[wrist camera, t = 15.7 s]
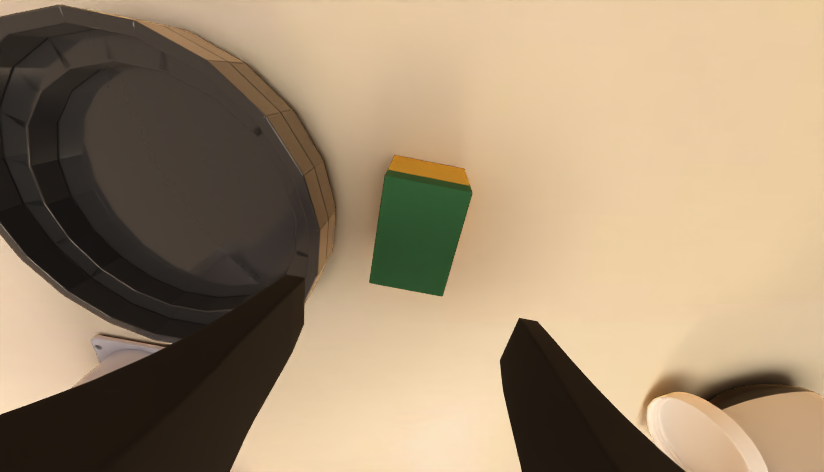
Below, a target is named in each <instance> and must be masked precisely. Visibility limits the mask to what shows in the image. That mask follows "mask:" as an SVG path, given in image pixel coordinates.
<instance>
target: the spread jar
mask: <svg viewBox="0 0 824 472" xmlns="http://www.w3.org/2000/svg"><path fill="white" fill-rule="evenodd" d="M646 420H647V426H648V430H649V433H650V435H651V438H652V440H653V442H654V444H655V445H656V446H657V447H658V448H659V449H660V450H661V451H662V452H664V453H665V454H666V455H667V456H668V457H669V458H670V459H672V460H673V461H674V462H675V463H676V464H677V465H679V466H680V467H681V468H682V469H683V470H685V471H686V472H824V398H823V397H822V396H820V395H818V394H817V393H815V392H813V391H810V390H808V389H805V388H802V387H797V386H792V385H781V384H752V385H746V386H741V387H737V388H734V389H731V390H728V391H726V392H723V393H721V394H719V395H718V396H716V397H714V398H713V399H711V400H710V401H706V400H704V399H702V398H700V397H698V396H695V395H692V394H689V393H685V392H672V393H669V394H666V395H663V396H660V397H657V398H655V399H653V400H652V401H651V402H650V403H649V405H648V407H647V412H646Z"/></svg>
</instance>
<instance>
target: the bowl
mask: <svg viewBox="0 0 824 472" xmlns="http://www.w3.org/2000/svg"><path fill="white" fill-rule="evenodd" d="M335 209H336V208H335V204H334V200H333V196H332V192H331V188H330V185H329V181H328V177H327V173H326V169H325V165H324V162H323V159H322V158H321V156H320V154H319V153H318V151H317V149H316V148H315V146H314V144H313V143H312V141H311V139H310V137H309V136H308V134H307V132H306V131H305V129H304V127H303V126H302V124H301V122H300V121H299V119H298V117H297V116H296V114H295V112H294V111H293V110H292V109H291V108H290V107H289V106H288V105H287V104H286V103H285V102H284V101H283V100H282V99H281V98H280V97H279V96H278V95H277V94H276V93H275V92H274V91H273V90H272V89H271V88H270V87H269V86H268V85H267V84H266V83H265V82H264V81H263V80H262V79H261V78H260V77H259V76H258V75H257V74H256V73H255V72H254V71H253V70H252V69H251V68H250V67H248V66H247V65H246V64H245V63H244V62H243V61H241V60H239V59H237V58H235V57H234V56H232V55H230V54H228V53H227V52H225V51H223V50H221V49H219V48H218V47H216V46H214V45H212V44H211V43H209V42H207V41H205V40H203V39H202V38H200V37H198V36H196V35H195V34H193V33H191V32H189V31H187V30H185V29H181V28H176V27H171V26H166V25H161V24H157V23H152V22H147V21H142V20H137V19H133V18H128V17H123V16H118V15H113V14H107V13H102V12H97V11H92V10H87V9H82V8H76V7H71V6H66V5H55V6H50V7H45V8H40V9H35V10H30V11H25V12H20V13H15V14H10V15H5V16H0V235H1V236H2V237H3V238H4V240H5V241H6V242H7V243H8V245H9V246H10V247H11V248H12V249H13V251H14V252H15V253H16V254H17V256H18V257H19V258H21V260H22V261H24V262H25V263H26V264H27V265H28V266H29V267H31V268H32V269H33V270H34V271H35V272H36V273H38V274H39V275H40V276H41V277H42V278H44V279H45V280H46V281H47V282H48V283H49V284H51V285H52V286H53V287H54V288H55V289H56V290H58V291H59V292H60V293H61V294H63V295H64V296H65V297H67V298H69V299H70V300H72V301H74V302H75V303H77V304H79V305H80V306H82V307H84V308H85V309H87V310H89V311H90V312H92V313H94V314H96V315H97V316H99V317H101V318H102V319H104V320H106V321H107V322H109V323H111V324H114V325H117V326H119V327H122V328H124V329H127V330H130V331H132V332H135V333H137V334H140V335H143V336H145V337H148V338H150V339H153V340H157V341H163V342H168V343H175V342H177V341H179V340H181V339H183V338H185V337H187V336H189V335H190V334H192V333H194V332H196V331H198V330H199V329H201V328H203V327H205V326H206V325H208V324H210V323H211V322H213V321H215V320H217V319H218V318H220V317H222V316H223V315H225V314H227V313H228V312H230V311H231V310H233V309H235V308H236V307H238V306H239V305H241V304H242V303H244V302H245V301H247V300H249V299H250V298H252V297H253V296H255V295H256V294H258V293H259V292H261V291H262V290H264V289H265V288H267V287H268V286H270V285H271V284H273V283H274V282H276V281H277V280H279V279H280V278H282V277H283V276H285V275H287V274H288V275H293V276H298V277H304V278H305V302H304V305H305V303H306V301H307V299H308V297H309V296H310V294H311V292H312V290H313V289H314V287H315V285H316V283H317V282H318V280H319V278H320V275H321V273H322V271H323V269H324V267H325V265H326V263H327V261H328V259H329V257H330V255H331V253H332V250H333V239H334V225H335V212H336V210H335Z"/></svg>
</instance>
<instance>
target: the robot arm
mask: <svg viewBox="0 0 824 472" xmlns="http://www.w3.org/2000/svg"><path fill="white" fill-rule="evenodd" d="M304 302H305V278H304V277H298V276H293V275H288V274H287V275H285V276H283V277H282V278H280V279H279V280H277V281H276V282H274V283H273V284H271V285H270V286H268V287H267V288H265V289H264V290H262V291H261V292H259V293H258V294H256V295H255V296H253V297H252V298H250V299H249V300H247V301H245V302H244V303H242V304H241V305H239V306H238V307H236V308H235V309H233V310H231V311H230V312H228V313H227V314H225V315H223V316H222V317H220V318H218V319H217V320H215V321H213V322H211V323H210V324H208V325H206V326H205V327H203V328H201V329H199V330H198V331H196V332H194V333H192V334H190V335H189V336H187V337H185V338H183V339H181V340H179V341H177V342H175V343H173V344H171V345H169V346H167V347H163V346H157V345H151V344H146V343H140V342H135V341H129V340H123V339H118V338H112V337H107V336H101V335H96V336H94V337H93V338H92V339H91V343H92V345H93V347H94V350H95V352H96V355H97V357H98V359H99V362H100V364H99V365H97V366H96V367H95V368H94V369H93V370H92V371H90V372H89V373H88V374H87V375H86V376H85V377H83V378H82V379H81V380H80V381H79V382H78V383H76V384H75V385H74V386H73V387H72V388H71V389H69V390H66V391H64V392H61V393H59V394H56V395H53V396H50V397H48V398H45V399H42V400H40V401H37V402H34V403H32V404H29V405H26V406H23V407H21V408H18V409H15V410H12V411H9V412H6V413H4V414H1V415H0V472H230V470H231V468H232V466H233V463H234V461H235V459H236V457H237V455H238V452H239V450H240V448H241V446H242V444H243V441H244V439H245V437H246V435H247V433H248V431H249V429H250V427H251V425H252V423H253V421H254V419H255V418H256V416H257V414H258V412H259V411H260V409H261V407H262V405H263V404H264V402H265V400H266V398H267V396H268V395H269V393H270V391H271V389H272V388H273V386H274V384H275V382H276V381H277V379H278V377H279V375H280V373H281V372H282V370H283V368H284V366H285V364H286V363H287V361H288V359H289V357H290V355H291V354H292V352H293V349H294V347H295V345H296V342H297V340H298V337H299V335H300V333H301V330H302V328H303V325H304ZM500 366H501V377H502V385H503V392H504V397H505V401H506V406H507V410H508V414H509V419H510V423H511V427H512V431H513V436H514V440H515V444H516V448H517V452H518V457H519V461H520V465H521V470H522V472H686V471H685V470H683V469H682V468H681V467H680V466H679V465H677V464H676V463H675V462H674V461H673V460H672V459H670V458H669V457H668V456H667V455H666V454H665V453H664V452H662V451H661V450H660V449H659V448H658V447H657V446H656V445H655V444H653V443H652V442H651V441H650V440H649V439H648V438H647V437H646V436H645V435H644V434H643V433H642V432H641V431H639V430H638V429H637V428H636V427H635V426H634V425H633V424H632V423H631V422H630V421H629V420H628V419H627V418H626V417H625V416H624V415H623V414H622V413H621V412H620V411H619V410H618V409H617V408H616V407H615V406H614V405H613V404H612V403H611V402H610V401H609V400H608V399H607V398H606V397H605V396H604V395H603V394H602V393H601V392H600V391H599V390H598V389H597V388H596V387H595V386H594V384H593V383H592V382H591V381H590V380H589V379H588V378H587V377H586V376H585V375H584V374H583V372H582V371H581V370H580V369H579V368H578V367H577V366H576V365H575V364H574V362H573V361H572V360H571V359H570V358H569V357H568V356H567V354H566V353H565V352H564V351H563V350H562V349H561V348H560V346H559V345H558V344H557V343H556V342H555V341H554V339H553V338H552V337H551V336H550V335H549V334H548V333H547V332H546V330H545V329H544V328H543V327H542V326H541V325H540V324H539V323H538V322H537V321H533V320H527V319H522V318H519V320H518V322H517V324H516V326H515V328H514V330H513V333H512V335H511V337H510V339H509V341H508V344H507V346H506V348H505V350H504V352H503V355H502V357H501V359H500Z"/></svg>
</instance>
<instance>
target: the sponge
mask: <svg viewBox="0 0 824 472" xmlns="http://www.w3.org/2000/svg"><path fill="white" fill-rule="evenodd" d="M471 196H472V190H471V187H470V184H469V181H468V178H467V175H466V172H465V169H462V168H457V167H452V166H447V165H442V164H437V163H432V162H427V161H422V160H417V159H412V158H407V157H402V156H397V155H395V156H394V158H393V160H392V162H391V164H390V166H389V168H388V170H387V172H386V174H385V177H384V184H383V191H382V198H381V205H380V212H379V219H378V226H377V233H376V239H375V246H374V253H373V260H372V267H371V274H370V281H369V283H372V284H378V285H383V286H389V287H394V288H399V289H405V290H410V291H415V292H421V293H426V294H431V295H437V296H443V293H444V290H445V286H446V283H447V279H448V276H449V272H450V269H451V265H452V262H453V259H454V255H455V252H456V248H457V245H458V241H459V238H460V234H461V231H462V227H463V224H464V221H465V217H466V214H467V210H468V207H469V203H470V200H471Z"/></svg>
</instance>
